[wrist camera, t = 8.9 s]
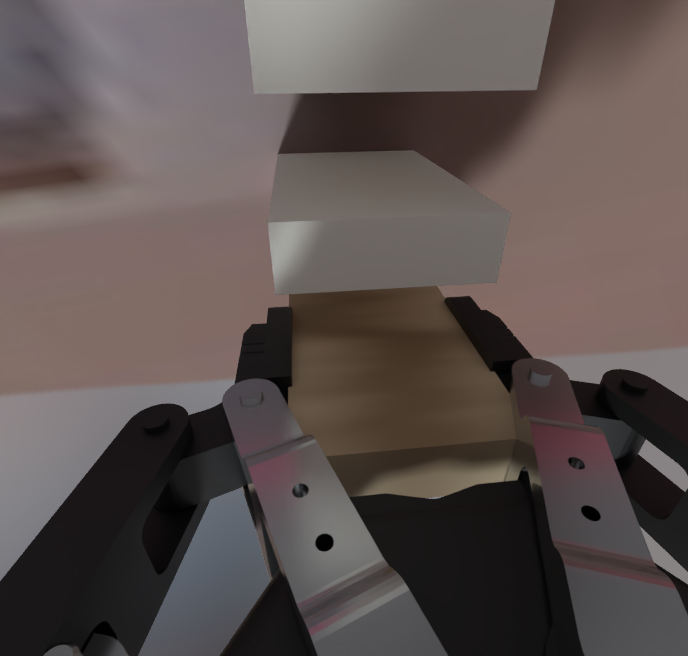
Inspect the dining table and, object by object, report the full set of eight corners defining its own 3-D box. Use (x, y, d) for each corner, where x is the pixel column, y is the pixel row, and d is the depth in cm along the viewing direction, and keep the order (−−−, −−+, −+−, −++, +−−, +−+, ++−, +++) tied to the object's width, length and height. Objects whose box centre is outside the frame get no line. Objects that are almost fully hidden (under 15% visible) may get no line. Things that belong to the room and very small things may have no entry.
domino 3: (292, 318, 15) (293, 511, 9) (289, 279, 15) (287, 459, 8) (423, 310, 16) (521, 487, 9) (427, 272, 15) (538, 436, 8)
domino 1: (271, 82, 14) (254, 94, 7) (266, 23, 13) (240, -31, 6) (418, 80, 14) (536, 89, 7) (423, 23, 13) (560, -26, 7)
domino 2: (281, 199, 16) (275, 295, 9) (277, 153, 15) (267, 222, 8) (410, 194, 16) (496, 282, 9) (413, 150, 15) (511, 212, 9)
